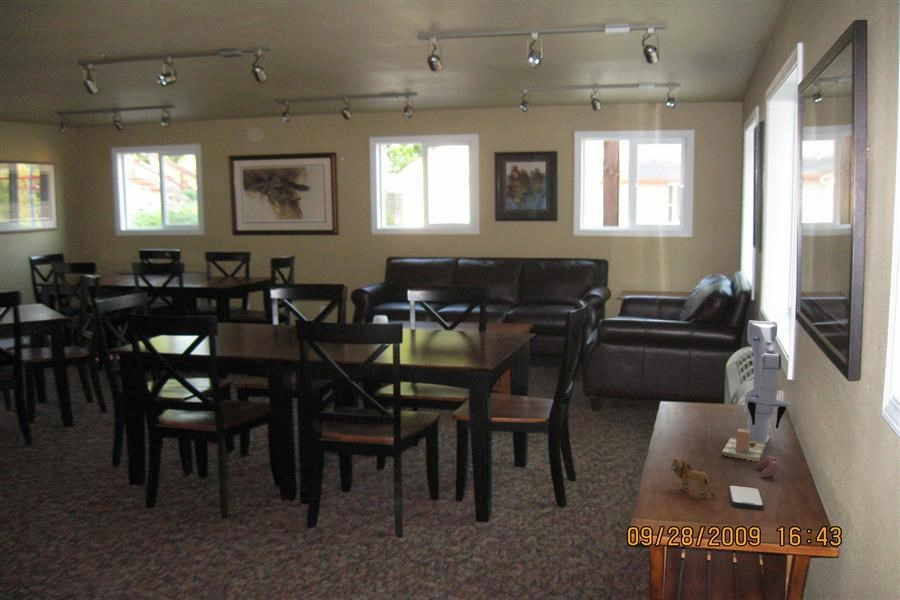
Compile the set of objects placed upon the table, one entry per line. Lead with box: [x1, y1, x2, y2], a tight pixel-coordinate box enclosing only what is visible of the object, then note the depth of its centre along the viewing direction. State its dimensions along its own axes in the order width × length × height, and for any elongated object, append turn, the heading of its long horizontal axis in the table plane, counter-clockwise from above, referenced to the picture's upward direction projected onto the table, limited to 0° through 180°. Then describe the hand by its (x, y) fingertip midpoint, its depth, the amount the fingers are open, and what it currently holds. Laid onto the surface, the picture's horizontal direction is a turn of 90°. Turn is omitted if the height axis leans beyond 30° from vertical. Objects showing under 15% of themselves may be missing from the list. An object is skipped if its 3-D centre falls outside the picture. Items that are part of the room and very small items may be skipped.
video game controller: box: [755, 454, 780, 478], centre depth 262 cm, size 10×5×7 cm, turn 169°
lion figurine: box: [670, 457, 717, 499], centre depth 243 cm, size 15×5×9 cm, turn 45°
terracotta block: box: [736, 428, 751, 453], centre depth 281 cm, size 4×4×7 cm
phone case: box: [728, 485, 765, 510], centre depth 239 cm, size 9×2×16 cm
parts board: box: [721, 437, 767, 462], centre depth 286 cm, size 20×12×2 cm, turn 153°
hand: (765, 425), depth 285 cm, fingers open, 7 cm apart
